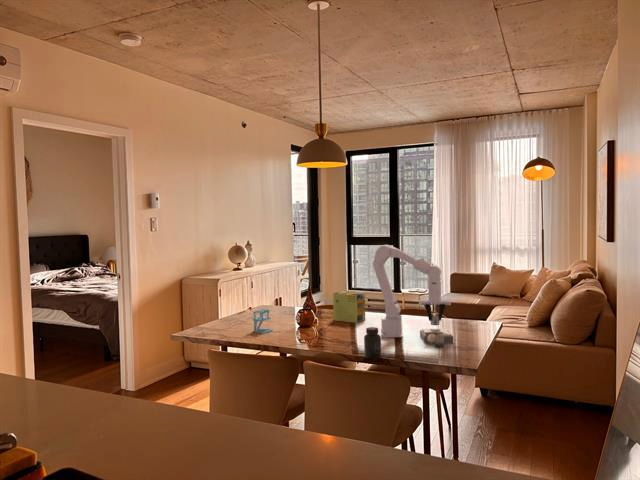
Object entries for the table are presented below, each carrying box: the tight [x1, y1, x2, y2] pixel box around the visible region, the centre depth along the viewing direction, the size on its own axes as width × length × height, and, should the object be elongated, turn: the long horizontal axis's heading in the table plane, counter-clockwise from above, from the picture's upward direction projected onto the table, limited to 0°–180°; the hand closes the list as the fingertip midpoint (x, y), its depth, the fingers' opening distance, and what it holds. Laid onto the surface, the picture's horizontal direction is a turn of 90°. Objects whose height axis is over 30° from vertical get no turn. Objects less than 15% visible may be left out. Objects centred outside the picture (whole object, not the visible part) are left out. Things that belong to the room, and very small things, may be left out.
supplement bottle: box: [363, 326, 382, 360], centre depth 199 cm, size 7×7×12 cm
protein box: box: [332, 290, 366, 324], centre depth 276 cm, size 10×15×16 cm
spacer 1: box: [430, 312, 440, 326], centre depth 230 cm, size 4×4×5 cm
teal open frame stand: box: [252, 308, 273, 335], centre depth 250 cm, size 8×8×12 cm
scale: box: [419, 328, 454, 345], centre depth 226 cm, size 13×15×5 cm
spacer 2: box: [434, 334, 445, 349], centre depth 214 cm, size 4×4×5 cm
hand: (434, 320), depth 230 cm, fingers closed on spacer 1, 4 cm apart
